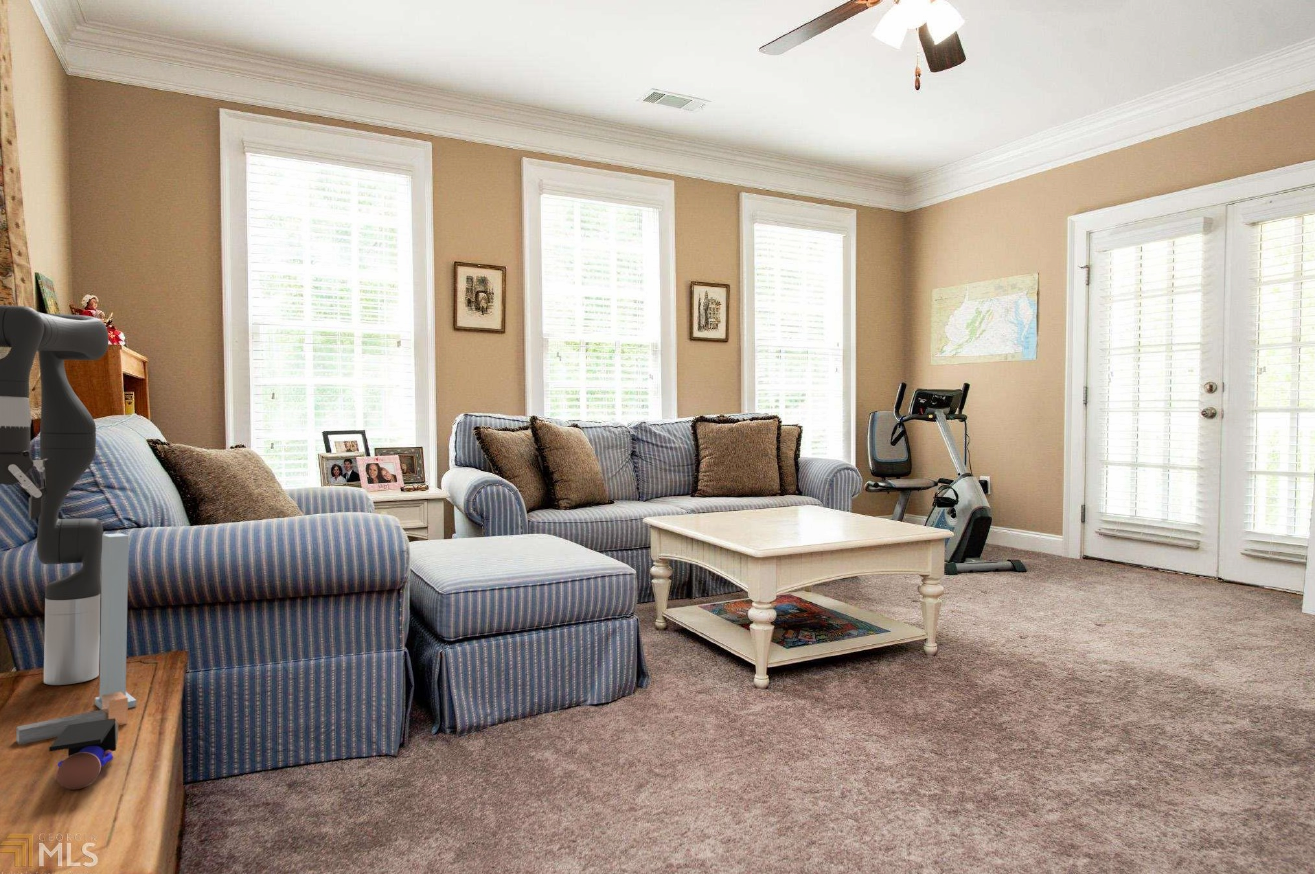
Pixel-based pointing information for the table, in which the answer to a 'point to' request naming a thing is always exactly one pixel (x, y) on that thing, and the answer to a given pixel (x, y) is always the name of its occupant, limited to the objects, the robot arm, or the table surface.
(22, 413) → the robot arm
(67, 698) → the table surface
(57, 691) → the table surface
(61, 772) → the figurine character
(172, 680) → the table surface
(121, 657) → the post
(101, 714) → the grey handled tool
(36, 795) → the table surface
